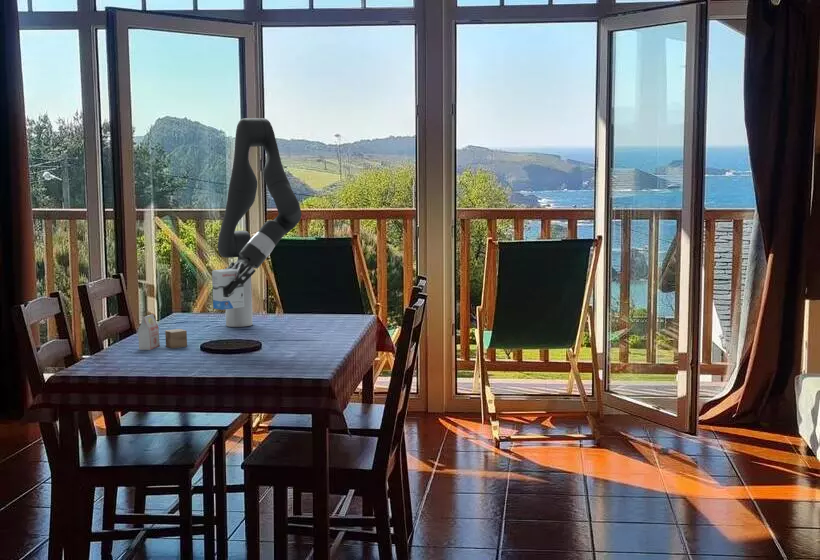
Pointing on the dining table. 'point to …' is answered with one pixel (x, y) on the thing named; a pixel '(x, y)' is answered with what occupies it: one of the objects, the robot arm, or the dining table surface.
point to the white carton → (148, 333)
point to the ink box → (219, 295)
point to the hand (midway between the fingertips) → (223, 291)
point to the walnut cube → (176, 338)
